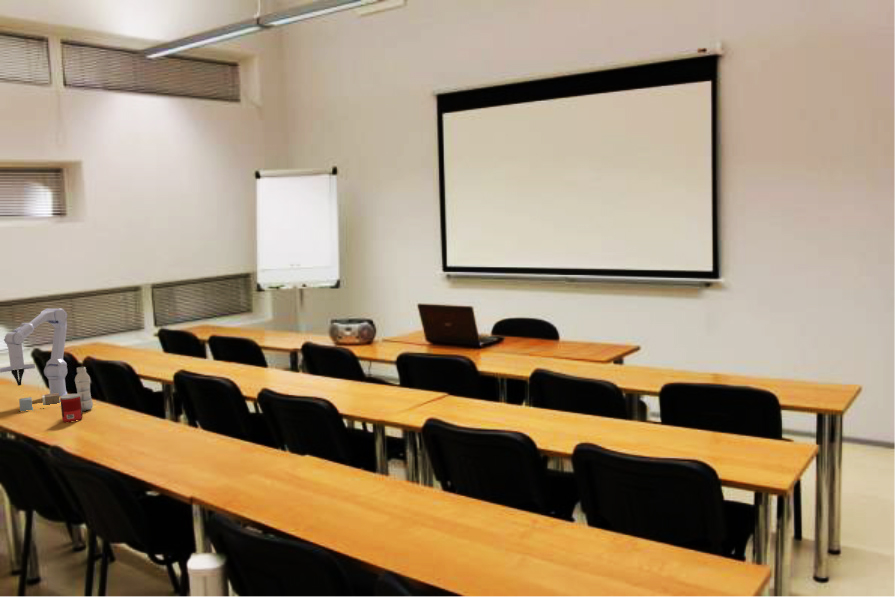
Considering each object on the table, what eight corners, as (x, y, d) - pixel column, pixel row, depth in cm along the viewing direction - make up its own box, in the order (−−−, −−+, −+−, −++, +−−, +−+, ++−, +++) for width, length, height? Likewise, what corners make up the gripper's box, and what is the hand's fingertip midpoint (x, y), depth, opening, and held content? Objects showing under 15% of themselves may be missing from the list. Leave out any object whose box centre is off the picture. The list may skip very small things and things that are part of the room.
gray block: (20, 409, 358) (19, 398, 357) (32, 407, 360) (31, 397, 359) (20, 411, 353) (19, 400, 353) (32, 409, 356) (31, 399, 355)
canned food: (86, 418, 335) (83, 394, 334) (69, 423, 328) (66, 398, 327) (76, 417, 339) (73, 392, 338) (59, 421, 332) (56, 397, 331)
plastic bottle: (74, 412, 348) (69, 369, 346) (85, 408, 355) (80, 366, 352) (85, 412, 346) (81, 369, 344) (96, 408, 353) (92, 366, 350)
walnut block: (42, 395, 367) (58, 392, 371) (43, 403, 368) (59, 400, 371) (42, 397, 362) (58, 395, 365) (43, 405, 363) (59, 403, 366)
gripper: (-2, 360, 355) (1, 388, 356) (33, 356, 362) (36, 384, 363) (-2, 358, 361) (2, 386, 363) (33, 354, 368) (36, 381, 369)
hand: (19, 385), depth 363 cm, fingers closed
